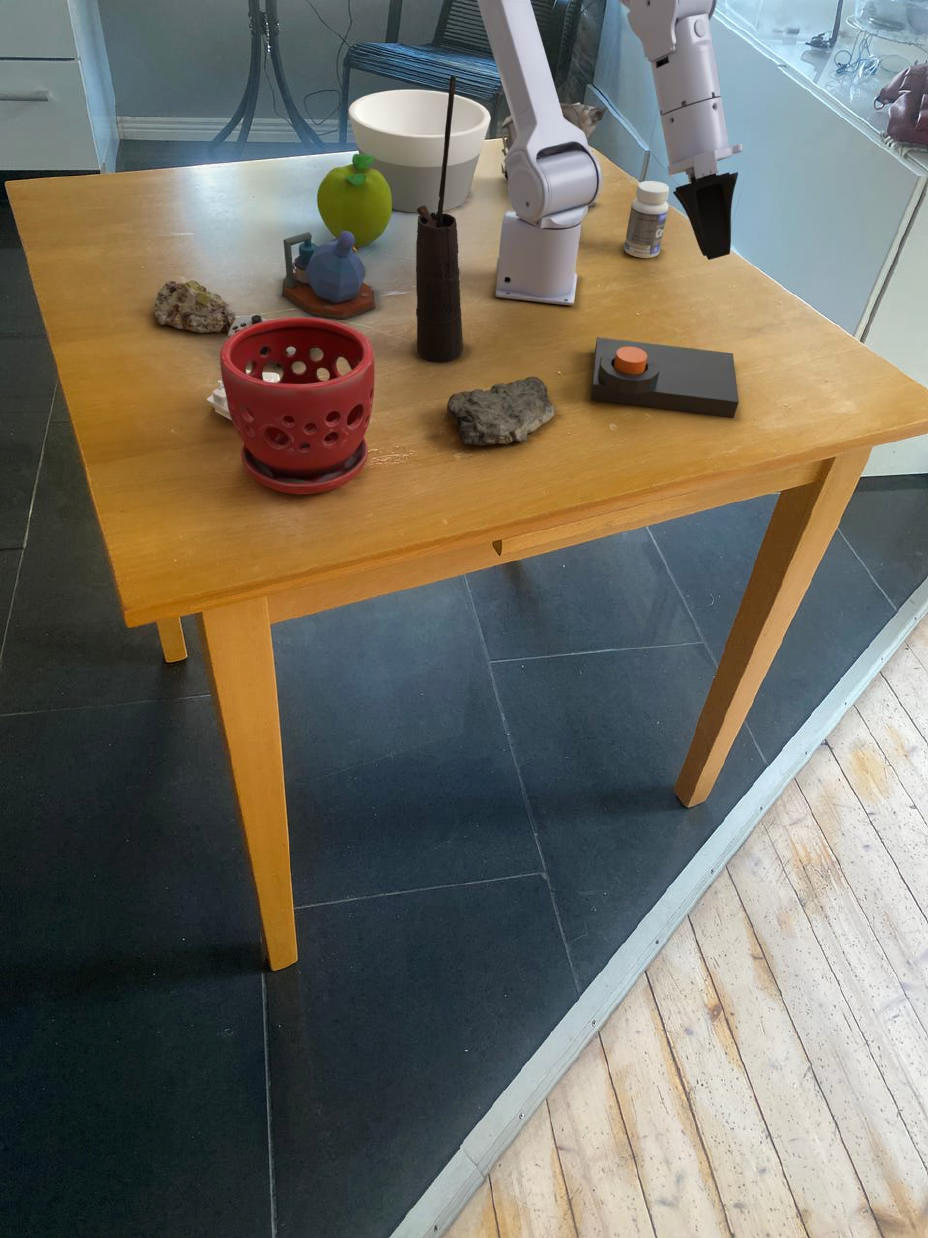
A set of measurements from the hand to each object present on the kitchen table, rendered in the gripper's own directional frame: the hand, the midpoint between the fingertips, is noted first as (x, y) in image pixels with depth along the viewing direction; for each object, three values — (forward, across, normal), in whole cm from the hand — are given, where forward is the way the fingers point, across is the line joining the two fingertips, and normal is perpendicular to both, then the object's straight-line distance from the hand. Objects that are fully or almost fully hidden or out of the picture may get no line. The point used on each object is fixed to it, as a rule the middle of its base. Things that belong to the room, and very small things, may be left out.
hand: (716, 255), depth 95 cm
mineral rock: (-8, +1, +56) cm, 57 cm away
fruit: (-12, +24, +42) cm, 50 cm away
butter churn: (+2, +3, +31) cm, 31 cm away
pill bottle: (-1, +33, +7) cm, 34 cm away
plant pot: (+7, -20, +41) cm, 46 cm away
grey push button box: (+12, +2, +8) cm, 14 cm away
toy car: (+1, -13, +47) cm, 49 cm away
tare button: (+8, -2, +10) cm, 14 cm away
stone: (+9, -9, +24) cm, 27 cm away
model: (-7, +10, +44) cm, 45 cm away
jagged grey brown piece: (-12, +47, +19) cm, 52 cm away
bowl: (-16, +41, +36) cm, 57 cm away
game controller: (-3, -3, +47) cm, 48 cm away
